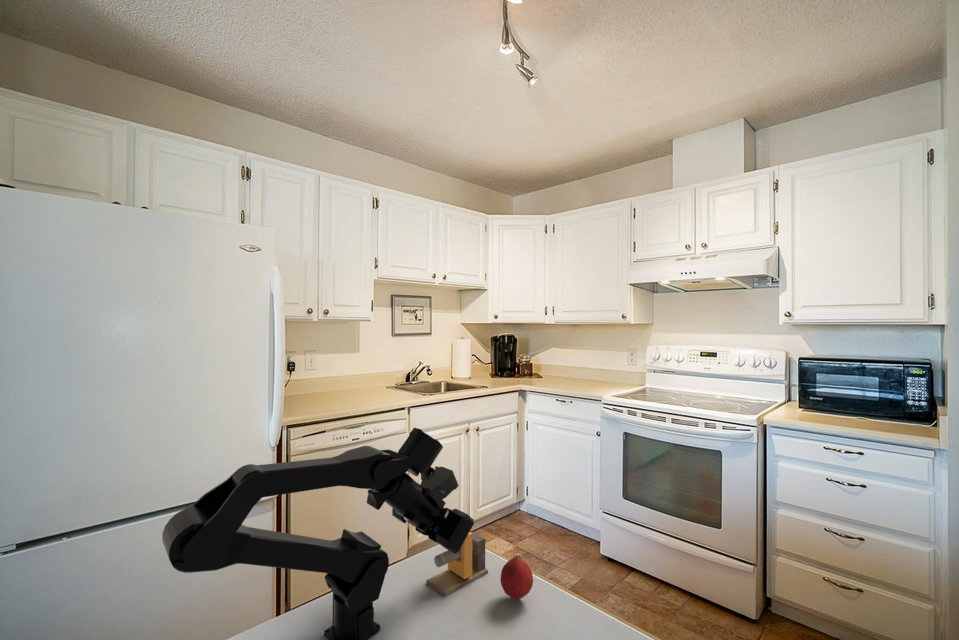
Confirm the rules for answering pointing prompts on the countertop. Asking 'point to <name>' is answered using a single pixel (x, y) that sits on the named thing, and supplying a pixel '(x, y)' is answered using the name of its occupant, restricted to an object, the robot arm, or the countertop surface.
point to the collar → (463, 559)
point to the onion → (516, 578)
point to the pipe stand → (451, 580)
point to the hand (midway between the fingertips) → (454, 538)
